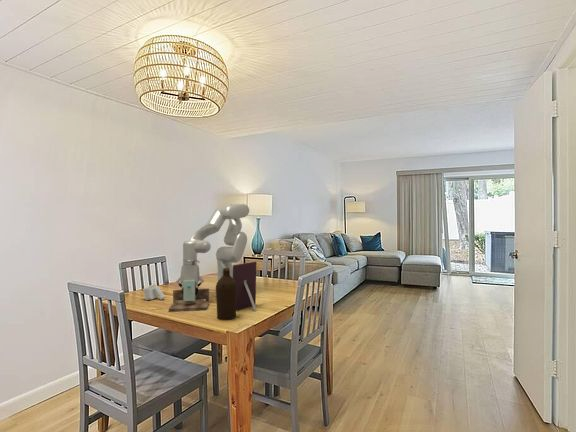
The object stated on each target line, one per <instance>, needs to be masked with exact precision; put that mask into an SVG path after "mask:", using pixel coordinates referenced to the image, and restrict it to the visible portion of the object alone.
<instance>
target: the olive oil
mask: <svg viewBox="0 0 576 432" xmlns="http://www.w3.org/2000/svg"><path fill="white" fill-rule="evenodd" d="M229 269H230V268H228V267H226V268H223V276H222V277H221V278H220V280H219V281H218V280H217V282H216V285H215V295H216V297H215V298H216V318H217V320H219V321H220V320H222V321H228V320H234V319H235V318H236V317H237V311H236V299H237V284H236V281H235V280H234V279H233V278H232V277H231V276H230V270H229Z"/></svg>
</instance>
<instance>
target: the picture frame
mask: <svg viewBox="0 0 576 432" xmlns="http://www.w3.org/2000/svg"><path fill="white" fill-rule="evenodd" d="M232 266H233V279H234V280H235V281H236V284H237V299H236V312H238V311H241V310H243V309H246V308H250V307H252V309H253V310H254V311H253V312H256V311H258V309H257V307H256V297H257V293H256V292H257V261H249V262H243V263H239V264H238V263H237V264H232Z"/></svg>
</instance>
